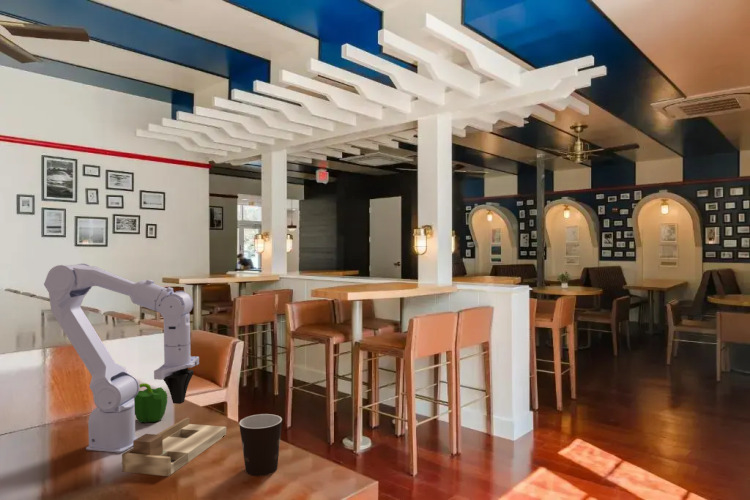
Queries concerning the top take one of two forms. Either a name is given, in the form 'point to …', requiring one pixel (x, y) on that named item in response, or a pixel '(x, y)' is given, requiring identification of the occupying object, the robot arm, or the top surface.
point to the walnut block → (148, 445)
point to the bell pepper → (150, 404)
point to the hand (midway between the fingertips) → (178, 402)
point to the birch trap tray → (174, 448)
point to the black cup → (261, 443)
